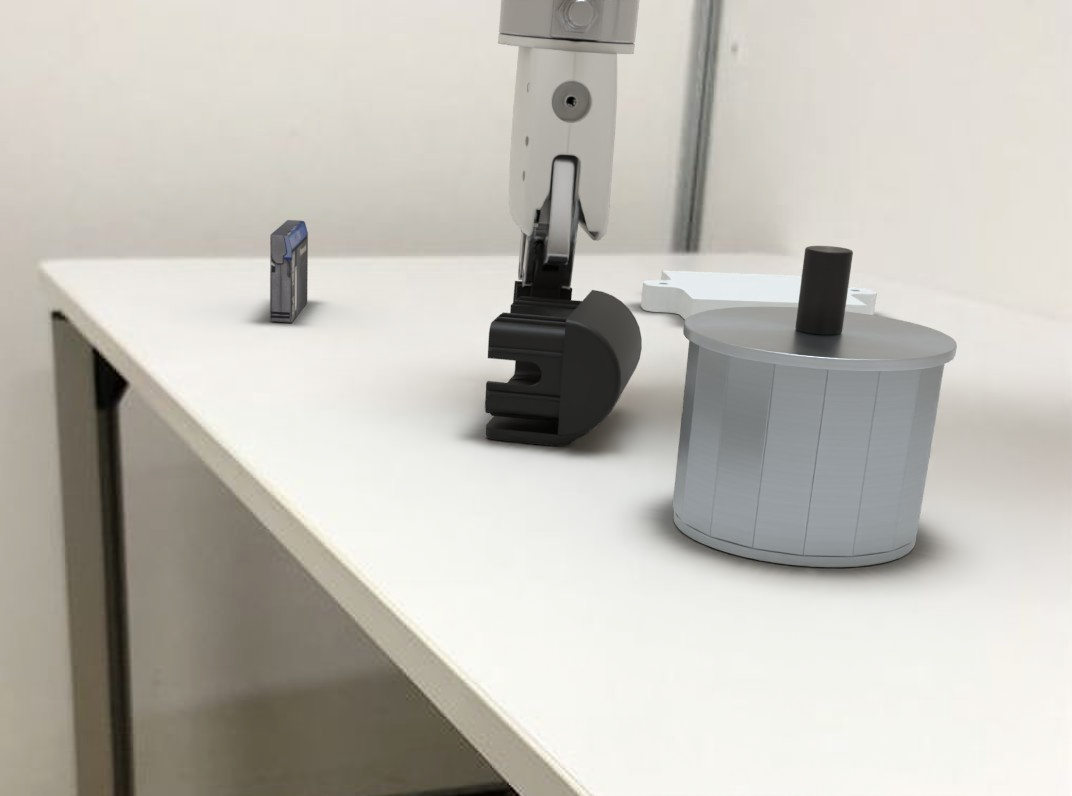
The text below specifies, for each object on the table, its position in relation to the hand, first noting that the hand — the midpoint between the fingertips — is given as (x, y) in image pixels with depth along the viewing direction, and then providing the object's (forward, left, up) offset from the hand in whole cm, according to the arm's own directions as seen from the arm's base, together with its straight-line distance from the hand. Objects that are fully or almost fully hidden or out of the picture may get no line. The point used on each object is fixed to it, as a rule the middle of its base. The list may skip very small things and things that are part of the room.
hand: (537, 352), depth 95 cm
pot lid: (-9, +25, +6) cm, 27 cm away
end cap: (-1, +8, -3) cm, 8 cm away
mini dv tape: (+15, -24, -3) cm, 28 cm away
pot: (-9, +25, -3) cm, 27 cm away
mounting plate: (-21, -30, -3) cm, 36 cm away
